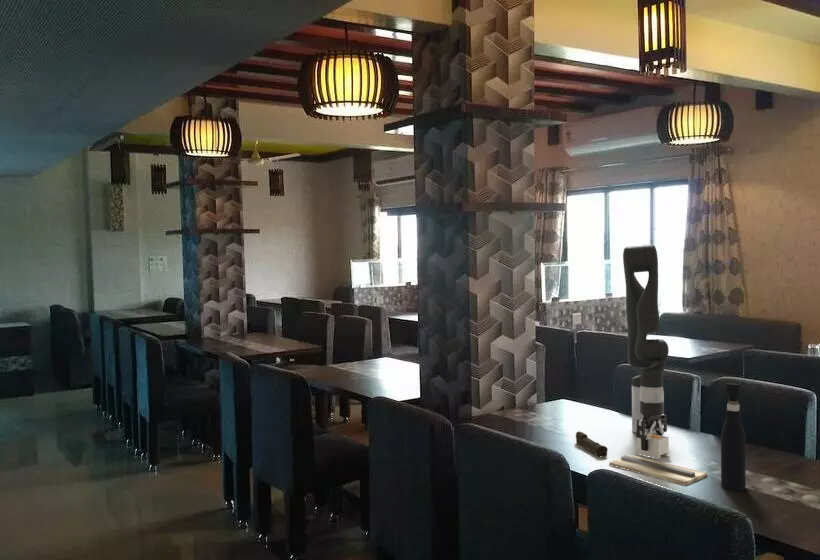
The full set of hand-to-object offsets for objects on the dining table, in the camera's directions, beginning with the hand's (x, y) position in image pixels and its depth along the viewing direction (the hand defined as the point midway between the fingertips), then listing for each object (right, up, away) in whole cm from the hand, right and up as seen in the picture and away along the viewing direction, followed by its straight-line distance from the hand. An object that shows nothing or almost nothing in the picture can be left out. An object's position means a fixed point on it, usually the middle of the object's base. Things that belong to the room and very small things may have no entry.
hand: (652, 448), depth 237 cm
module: (0, -2, 0) cm, 2 cm away
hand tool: (-19, -3, +8) cm, 21 cm away
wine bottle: (+12, -4, -33) cm, 35 cm away
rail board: (-4, -3, -16) cm, 17 cm away
